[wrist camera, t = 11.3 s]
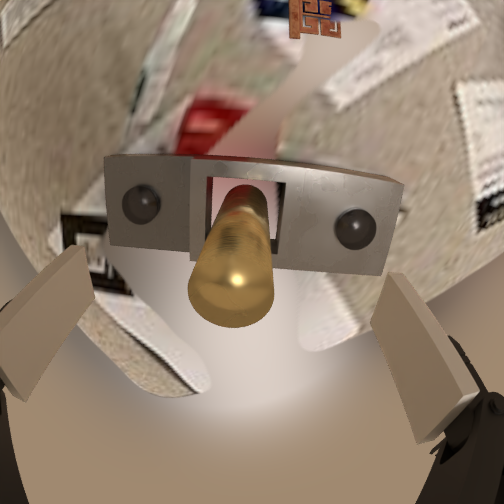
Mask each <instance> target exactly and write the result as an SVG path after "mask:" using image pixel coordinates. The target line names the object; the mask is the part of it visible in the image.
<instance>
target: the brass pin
mask: <svg viewBox="0 0 504 504" xmlns="http://www.w3.org/2000/svg"><path fill="white" fill-rule="evenodd" d="M188 296H189V300H190V302H191V304H192V306H193V308H194V309H195V310H196V312H197V313H199V315H200V316H202V317H203V318H204V319H206V320H207V321H209V322H211V323H213V324H216V325H218V326H222V327H228V328H239V327H245V326H249V325H251V324H253V323H256V322H258V321H259V320H260V319H262V318H263V317H264V316H265V315H266V314H267V313H268V312H269V310H270V308H271V306H272V304H273V300H274V284H273V271H272V257H271V244H270V232H269V220H268V208H267V201H266V198H265V196H264V194H263V193H262V192H261V191H260V190H259V189H258V188H256V187H254V186H252V185H239V186H236V187H234V188H233V189H231V190H230V191H229V192H228V194H227V195H226V197H225V199H224V201H223V203H222V205H221V208H220V210H219V212H218V214H217V217H216V219H215V221H214V223H213V225H212V228H211V230H210V232H209V234H208V237H207V239H206V241H205V244H204V246H203V248H202V251H201V253H200V255H199V258H198V260H197V263H196V265H195V267H194V269H193V272H192V274H191V277H190V279H189V283H188Z"/></svg>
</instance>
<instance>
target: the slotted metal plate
mask: <svg viewBox="0 0 504 504" xmlns="http://www.w3.org/2000/svg"><path fill="white" fill-rule="evenodd" d="M104 177H105V195H106V208H107V219H108V229H109V238H110V245H114V246H115V245H116V246H125V247H136V248H147V249H158V250H171V251H181V252H190V261H197V260H198V258H199V255H200V253H201V251H202V248H203V246H204V244H205V241H206V239H207V237H208V234H209V232H210V230H211V214H212V189H213V177H226V178H241V179H253V180H264V181H275V182H282V189H281V198H280V207H279V215H278V224H277V232H276V239H270V244H271V257H272V268H280V269H291V270H304V271H317V272H330V273H344V274H358V275H373V276H381V275H382V272H383V268H384V265H385V262H386V258H387V255H388V251H389V248H390V244H391V240H392V237H393V233H394V229H395V225H396V221H397V217H398V212H399V208H400V204H401V199H402V194H403V189H404V184H402V183H400V182H398V181H396V180H394V179H392V178H390V177H386V176H381V175H376V174H371V173H365V172H360V171H354V170H348V169H342V168H335V167H329V166H322V165H315V164H307V163H299V162H291V161H282V160H272V159H261V158H250V157H236V156H219V155H199V154H117V155H109V156H106V157H104Z"/></svg>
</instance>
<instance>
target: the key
mask: <svg viewBox="0 0 504 504" xmlns="http://www.w3.org/2000/svg"><path fill="white" fill-rule="evenodd" d="M302 2H310V4H307V3H305V12H314V13H318V8H317V0H289V31H290V38H295V39H300V33H308V34H315V35H318V34H319V31H318V19H317V18H310V17H305V25H307V26H311V28H309V27H303V18H302V15H307V16H316V17H324V18H330V17H329V16H323V15H316V14H309V13H302ZM329 5H331V2H326V1H320V13H323V14H330V15H331V7H329ZM330 29H332V30H335V22H330V20H324V19H321V24H320V32H321V35H322V36H329V37H334V38H341V22H337V32H335V31H330Z"/></svg>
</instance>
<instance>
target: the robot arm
mask: <svg viewBox="0 0 504 504" xmlns="http://www.w3.org/2000/svg"><path fill="white" fill-rule="evenodd" d="M94 299H95V295H94V291H93V287H92V282H91V278H90V273H89V269H88V264H87V259H86V253H85V248H84V246H77V245H71V246H69V247H68V248H67V249H66V250H65V251H64V252H62V253H61V254H60V255H59V256H58V257H57V258H56V259H54V260H53V261H52V262H51V263H50V264H49V265H48V266H47V267H46V268H44V269H43V270H42V271H41V272H40V273H39V274H38V275H37V276H36V277H35V278H34V279H33V280H32V281H31V282H30V283H28V284H27V285H26V286H25V287H24V288H23V289H22V290H21V291H20V292H19V293H18V294H17V296H15V297H14V298H13V299H12V300H10V301H9V302H7V303H6V304H5V305H4V306H3V307H2V308H1V310H0V504H29V502H28V499H27V496H26V493H25V490H24V487H23V484H22V481H21V477H20V473H19V470H18V466H17V462H16V458H15V453H14V449H13V445H12V440H11V433H10V427H9V421H8V413H7V405H6V397H5V393H4V392H3V390H2V389H3V388H4V386H6V387H7V388H8V390H9V391H10V392H11V394H12V395H13V396H15V397H16V398H18V399H20V400H22V401H24V402H27V400H28V398H29V396H30V395H31V393H32V391H33V389H34V388H35V386H36V384H37V383H38V381H39V380H40V378H41V376H42V374H43V373H44V371H45V370H46V368H47V366H48V365H49V363H50V362H51V360H52V358H53V357H54V356H55V354H56V353H57V351H58V349H59V348H60V347H61V345H62V343H63V342H64V341H65V339H66V338H67V336H68V335H69V333H70V332H71V330H72V329H73V328H74V326H75V325H76V323H77V322H78V321H79V319H80V318H81V316H82V315H83V314H84V312H85V311H86V309H87V308H88V307H89V305H90V304H91V303H92V301H93V300H94ZM370 324H371V326H372V329H373V331H374V333H375V335H376V338H377V340H378V342H379V345H380V347H381V349H382V352H383V354H384V357H385V359H386V361H387V364H388V366H389V369H390V371H391V374H392V376H393V379H394V381H395V384H396V387H397V389H398V392H399V394H400V397H401V400H402V403H403V405H404V408H405V411H406V414H407V417H408V419H409V422H410V425H411V428H412V431H413V434H414V437H415V440H416V443H417V445H418V444H422V443H425V442H429V441H432V440H435V438H437V437H438V436H439V435H440V434H441V433H442V432H443V431H444V433H445V435H446V437H445V438H444V439H443V440H442V441H441V442H440V443H439V444H438V445H436V446H435V447H434V448H433V449H432V450H431V452H430V454H433V453H434V452H435V451H436V450H438V449H439V450H438V453H437V454H436V455H435V456H436V458H435V461H434V463H433V466H432V469H431V471H430V473H429V476H428V478H427V480H426V482H425V484H424V487H423V489H422V491H421V493H420V495H419V497H418V499H417V501H416V503H415V504H504V397H503V396H502V395H501V394H499V393H496V392H488V391H487V389H486V387H485V386H484V384H483V382H482V380H481V379H480V377H479V375H478V373H477V372H476V370H475V369H474V367H473V365H472V364H470V360H469V359H468V357H467V356H465V352H464V351H463V349H462V348H461V346H460V344H459V343H458V342H457V341H455V340H454V339H453V338H452V337H451V336H447V335H446V333H445V332H444V330H443V329H442V327H441V326H440V324H439V323H438V321H437V320H436V318H435V317H434V315H433V314H432V312H431V311H430V310H429V308H428V307H427V305H426V304H425V302H424V301H423V300H422V298H421V297H420V296H419V294H418V293H417V291H416V290H415V289H414V287H413V286H412V285H411V283H410V282H409V281H408V279H407V278H406V277H405V276H404V274H403V273H394V272H388V274H387V277H386V280H385V283H384V286H383V289H382V291H381V294H380V297H379V300H378V303H377V305H376V308H375V311H374V313H373V316H372V318H371V321H370Z"/></svg>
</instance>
